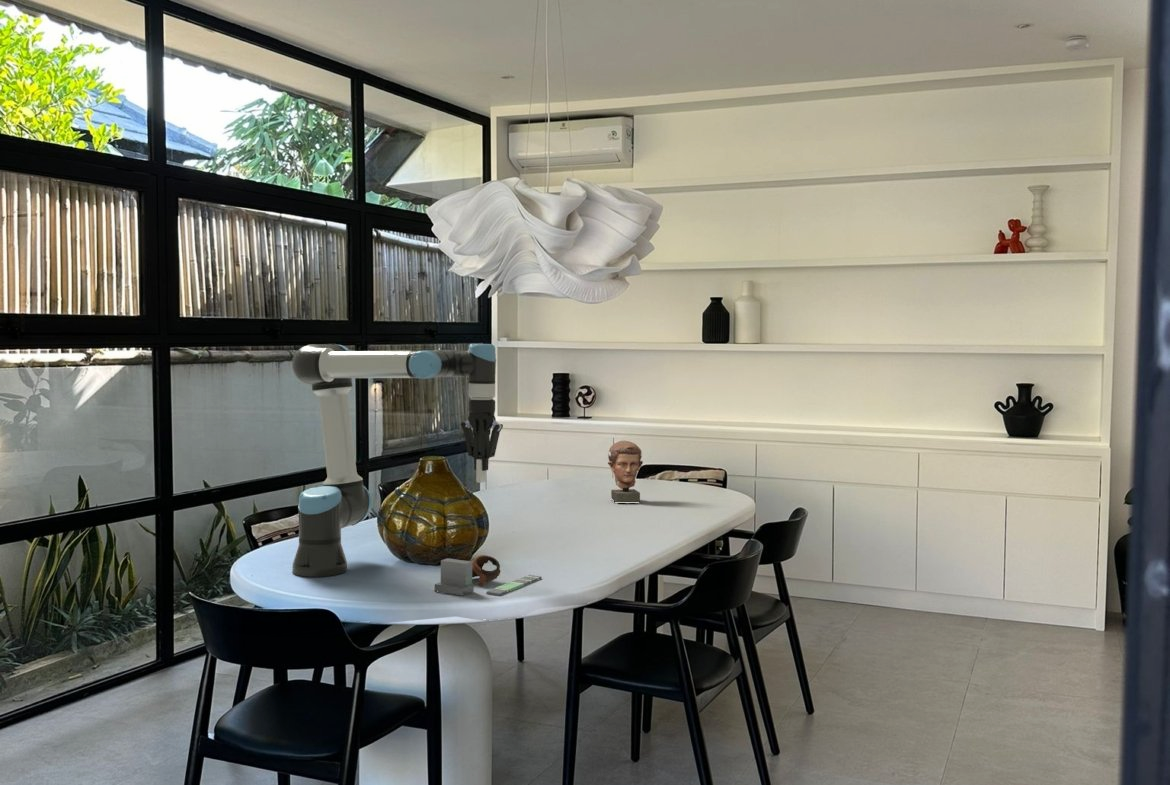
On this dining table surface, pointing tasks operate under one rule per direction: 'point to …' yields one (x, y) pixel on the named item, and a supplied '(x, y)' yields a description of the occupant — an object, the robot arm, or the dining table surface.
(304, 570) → the robot arm
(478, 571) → the pottery mug
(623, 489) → the bust
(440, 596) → the dining table surface
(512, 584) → the gauge strip
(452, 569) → the striated grey slab
